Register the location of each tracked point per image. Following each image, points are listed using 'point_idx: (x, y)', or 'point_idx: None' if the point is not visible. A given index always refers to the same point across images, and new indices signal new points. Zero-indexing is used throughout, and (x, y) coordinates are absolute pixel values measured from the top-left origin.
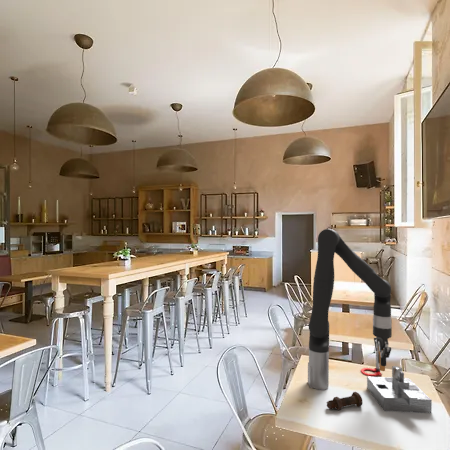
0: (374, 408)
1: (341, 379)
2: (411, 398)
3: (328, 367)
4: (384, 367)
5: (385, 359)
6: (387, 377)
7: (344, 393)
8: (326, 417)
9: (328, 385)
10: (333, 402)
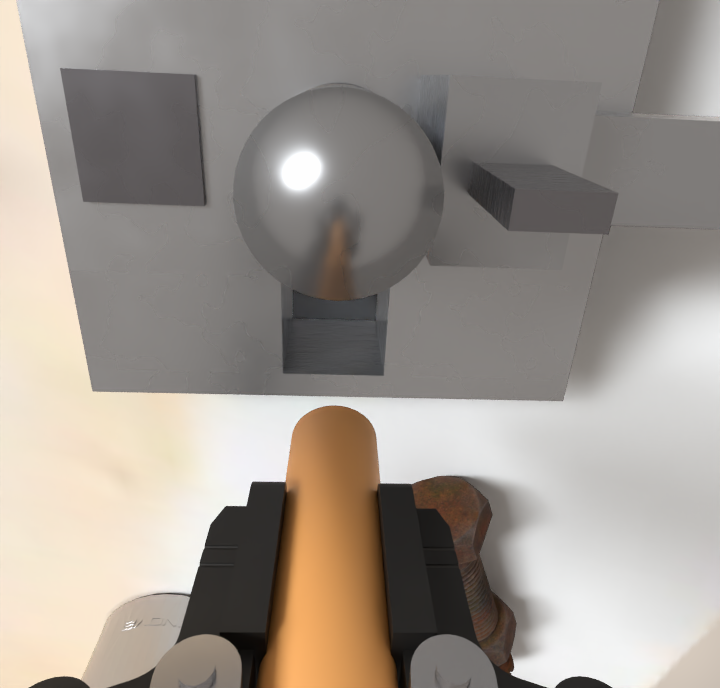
0: None
1: (21, 487)
2: None
3: None
4: (373, 462)
5: (471, 628)
6: (54, 147)
7: None
8: (557, 660)
9: (186, 604)
10: (500, 666)
